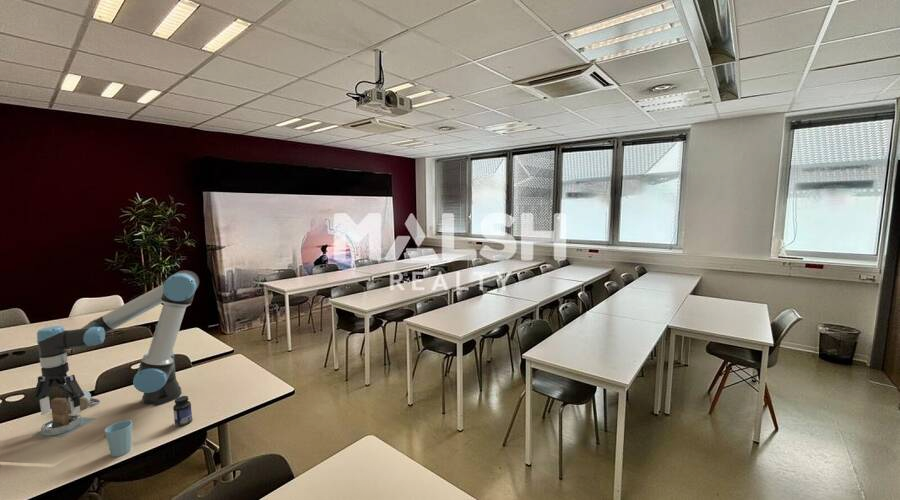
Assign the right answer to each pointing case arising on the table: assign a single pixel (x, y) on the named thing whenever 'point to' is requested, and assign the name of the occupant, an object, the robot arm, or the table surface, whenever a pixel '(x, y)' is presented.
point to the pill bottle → (182, 411)
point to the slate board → (83, 421)
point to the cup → (119, 438)
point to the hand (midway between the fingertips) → (61, 413)
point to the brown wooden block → (60, 411)
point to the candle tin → (56, 429)
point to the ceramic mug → (84, 401)
